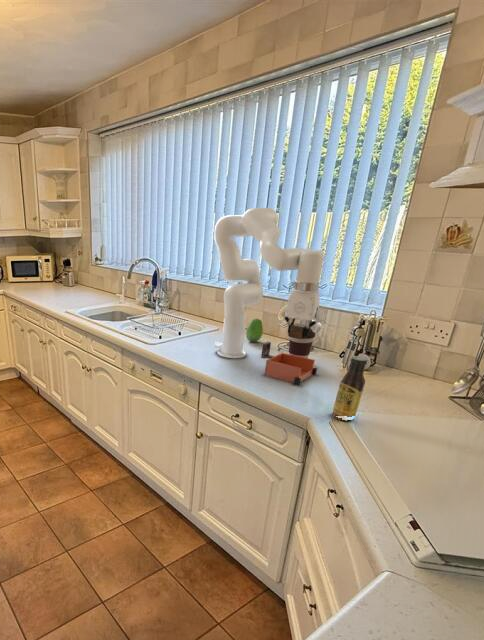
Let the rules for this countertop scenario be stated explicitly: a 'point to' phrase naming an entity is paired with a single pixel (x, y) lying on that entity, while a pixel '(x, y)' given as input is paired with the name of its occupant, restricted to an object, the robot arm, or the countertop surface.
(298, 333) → the block
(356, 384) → the sauce bottle
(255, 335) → the avocado
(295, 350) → the coffee cup
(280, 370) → the tub
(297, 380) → the wheel axle
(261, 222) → the robot arm
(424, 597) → the countertop surface
